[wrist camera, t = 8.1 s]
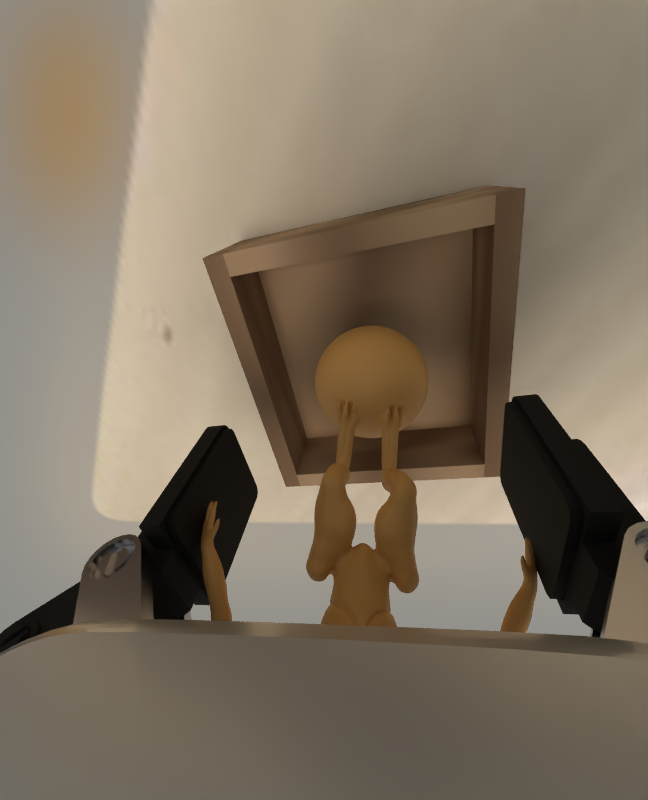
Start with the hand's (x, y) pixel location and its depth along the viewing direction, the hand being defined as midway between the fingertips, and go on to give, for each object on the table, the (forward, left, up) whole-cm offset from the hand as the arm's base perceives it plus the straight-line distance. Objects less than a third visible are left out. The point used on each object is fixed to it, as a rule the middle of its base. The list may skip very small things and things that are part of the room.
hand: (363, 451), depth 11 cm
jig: (0, 0, -9) cm, 9 cm away
